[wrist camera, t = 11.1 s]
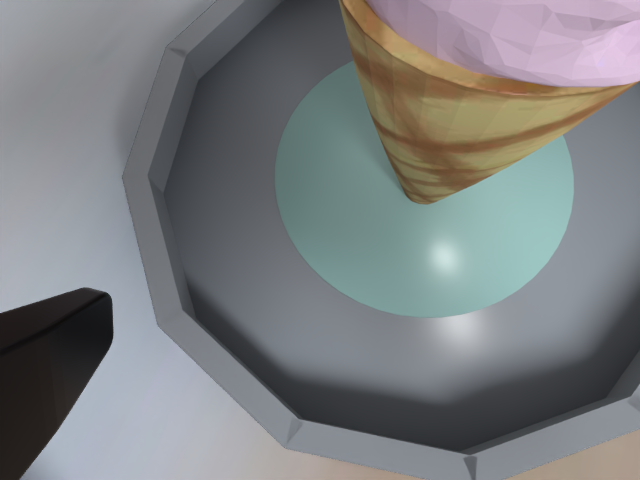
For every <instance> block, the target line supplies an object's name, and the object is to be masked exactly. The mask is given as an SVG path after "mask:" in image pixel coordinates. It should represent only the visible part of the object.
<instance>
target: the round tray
mask: <svg viewBox="0 0 640 480" xmlns="http://www.w3.org/2000/svg"><path fill="white" fill-rule="evenodd" d="M122 179H123V183H124V187H125V192H126V196H127V200H128V204H129V208H130V212H131V217H132V221H133V225H134V229H135V233H136V238H137V242H138V246H139V250H140V254H141V258H142V263H143V267H144V271H145V275H146V279H147V283H148V288H149V292H150V296H151V300H152V304H153V309H154V313H155V317H156V321H157V325H158V326H159V327H160V328H161V329H162V330H163V331H164V332H165V333H166V334H167V335H168V336H169V337H170V338H171V339H172V340H173V341H174V342H175V343H176V344H177V345H178V346H179V347H180V348H181V349H182V350H183V351H184V352H185V353H186V354H188V355H189V356H190V357H191V358H192V359H193V360H194V361H195V362H196V363H197V364H198V365H199V366H200V367H201V368H202V369H203V370H204V371H205V372H206V373H207V374H208V375H209V376H210V377H211V378H212V379H213V380H214V381H215V382H217V383H218V384H219V385H220V386H221V387H222V388H223V389H224V390H225V391H226V392H227V393H228V394H229V395H230V396H231V397H232V398H233V399H234V400H235V401H236V402H237V403H238V404H239V405H240V406H241V407H242V408H243V409H244V410H246V411H247V412H248V413H249V414H250V415H251V416H252V417H253V418H254V419H255V420H256V421H257V422H258V423H259V424H260V425H261V426H262V427H263V428H264V429H265V430H266V431H267V432H268V433H269V434H270V435H271V436H272V437H273V438H274V439H276V440H277V441H278V442H279V443H280V444H281V445H282V446H283V447H284V448H285V447H286V448H285V449H290V450H294V451H299V452H303V453H308V454H313V455H317V456H322V457H326V458H331V459H336V460H340V461H345V462H349V463H354V464H358V465H363V466H368V467H372V468H377V469H381V470H386V471H390V472H395V473H400V474H404V475H409V476H413V477H418V478H422V479H427V480H503V479H506V478H509V477H512V476H514V475H517V474H520V473H522V472H525V471H528V470H530V469H533V468H536V467H538V466H541V465H544V464H547V463H549V462H552V461H555V460H557V459H560V458H563V457H565V456H568V455H571V454H574V453H576V452H579V451H582V450H584V449H587V448H590V447H592V446H595V445H598V444H600V443H603V442H606V441H609V440H611V439H614V438H617V437H619V436H622V435H625V434H627V433H630V432H633V431H636V430H638V429H640V82H638V83H637V84H635V85H634V86H632V87H631V88H630V89H628V90H627V91H625V92H624V93H622V94H621V95H620V96H618V97H617V98H615V99H614V100H612V101H611V102H610V103H608V104H607V105H605V106H604V107H602V108H601V109H600V110H598V111H597V112H595V113H594V114H592V115H591V116H590V117H588V118H587V119H585V120H584V121H582V122H581V123H580V124H578V125H577V126H575V127H574V128H572V129H571V130H569V131H568V132H566V133H565V134H563V135H561V136H560V137H558V138H556V139H555V140H553V141H551V142H550V143H548V144H546V145H545V146H543V147H541V148H540V149H538V150H536V151H535V152H533V153H531V154H530V155H528V156H526V157H525V158H523V159H521V160H519V161H518V162H516V163H514V164H512V165H511V166H509V167H507V168H505V169H503V170H501V171H500V172H498V173H496V174H494V175H492V176H490V177H488V178H486V179H484V180H482V181H480V182H478V183H476V184H474V185H472V186H470V187H468V188H466V189H463V190H461V191H459V192H457V193H455V194H452V195H450V196H448V197H446V198H444V199H441V200H439V201H437V202H434V203H431V204H428V205H427V204H418V203H415V202H413V201H411V200H410V199H409V198H408V197H407V196H406V195H405V193H404V191H403V189H402V187H401V184H400V182H399V180H398V178H397V176H396V174H395V172H394V170H393V168H392V166H391V164H390V162H389V160H388V157H387V155H386V152H385V150H384V147H383V145H382V143H381V140H380V138H379V135H378V133H377V130H376V128H375V125H374V123H373V120H372V117H371V115H370V112H369V109H368V106H367V103H366V100H365V97H364V94H363V91H362V88H361V85H360V82H359V79H358V76H357V73H356V69H355V65H354V61H353V57H352V53H351V49H350V45H349V40H348V36H347V32H346V28H345V24H344V20H343V16H342V12H341V8H340V4H339V0H217V1H216V2H215V3H214V4H212V5H211V6H210V7H209V8H208V9H207V10H206V11H205V12H204V13H203V14H202V15H200V16H199V17H198V18H197V19H196V20H195V21H194V22H193V23H192V24H191V25H189V26H188V27H187V28H186V29H185V30H184V31H183V32H182V33H181V34H180V35H179V36H177V37H176V38H175V39H174V40H173V41H172V42H171V43H170V44H169V45H168V46H167V47H166V49H165V52H164V55H163V57H162V60H161V63H160V66H159V69H158V72H157V75H156V78H155V81H154V84H153V87H152V90H151V93H150V96H149V99H148V102H147V105H146V108H145V111H144V114H143V117H142V120H141V123H140V125H139V128H138V131H137V134H136V137H135V140H134V143H133V146H132V149H131V152H130V155H129V158H128V161H127V164H126V167H125V170H124V173H123V176H122Z"/></svg>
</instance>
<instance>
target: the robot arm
mask: <svg viewBox="0 0 640 480" xmlns="http://www.w3.org/2000/svg"><path fill="white" fill-rule="evenodd" d="M112 340H113V309H112V299H111V296H110V295H109V294H108V293H106V292H103V291H99V290H95V289H92V288H80V289H77V290H74V291H70V292H67V293H64V294H61V295H58V296H54V297H51V298H48V299H45V300H41V301H38V302H35V303H32V304H29V305H25V306H22V307H19V308H16V309H12V310H9V311H6V312H3V313H0V480H19V479H20V478H21V477H22V476H23V474H24V473H25V472H26V471H27V469H28V468H29V467H30V465H31V464H32V463H33V462H34V460H35V459H36V458H37V456H38V455H39V454H40V453H41V451H42V450H43V449H44V448H45V446H46V445H47V444H48V442H49V441H50V440H51V438H52V437H53V436H54V434H55V433H56V432H57V430H58V429H59V427H60V426H61V424H62V423H63V421H64V420H65V418H66V417H67V415H68V414H69V412H70V411H71V409H72V407H73V406H74V404H75V403H76V401H77V400H78V398H79V396H80V395H81V393H82V392H83V390H84V388H85V387H86V385H87V384H88V382H89V380H90V379H91V377H92V376H93V374H94V372H95V371H96V369H97V368H98V366H99V365H100V363H101V361H102V360H103V358H104V357H105V355H106V353H107V352H108V350H109V348H110V346H111V344H112Z"/></svg>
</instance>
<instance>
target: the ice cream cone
mask: <svg viewBox="0 0 640 480" xmlns="http://www.w3.org/2000/svg"><path fill="white" fill-rule="evenodd" d="M339 4H340V8H341V12H342V16H343V20H344V24H345V28H346V32H347V36H348V40H349V45H350V49H351V53H352V57H353V61H354V65H355V69H356V73H357V76H358V79H359V82H360V85H361V88H362V91H363V94H364V97H365V100H366V103H367V106H368V109H369V112H370V115H371V117H372V120H373V123H374V125H375V128H376V130H377V133H378V135H379V138H380V140H381V143H382V145H383V147H384V150H385V152H386V155H387V157H388V160H389V162H390V164H391V166H392V168H393V170H394V172H395V174H396V176H397V178H398V180H399V182H400V184H401V187H402V189H403V191H404V193H405V195H406V196H407V197H408V198H409V199H410V200H411V201H413V202H415V203H418V204H427V205H428V204H431V203H434V202H437V201H439V200H441V199H444V198H446V197H448V196H450V195H452V194H455V193H457V192H459V191H461V190H463V189H466V188H468V187H470V186H472V185H474V184H476V183H478V182H480V181H482V180H484V179H486V178H488V177H490V176H492V175H494V174H496V173H498V172H500V171H501V170H503V169H505V168H507V167H509V166H511V165H512V164H514V163H516V162H518V161H519V160H521V159H523V158H525V157H526V156H528V155H530V154H531V153H533V152H535V151H536V150H538V149H540V148H541V147H543V146H545V145H546V144H548V143H550V142H551V141H553V140H555V139H556V138H558V137H560V136H561V135H563V134H565V133H566V132H568V131H569V130H571V129H572V128H574V127H575V126H577V125H578V124H580V123H581V122H582V121H584V120H585V119H587V118H588V117H590V116H591V115H592V114H594V113H595V112H597V111H598V110H600V109H601V108H602V107H604V106H605V105H607V104H608V103H610V102H611V101H612V100H614V99H615V98H617V97H618V96H620V95H621V94H622V93H624V92H625V91H627V90H628V89H630V88H631V87H632V86H634V85H635V84H637V83H638V82H640V0H339Z"/></svg>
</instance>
